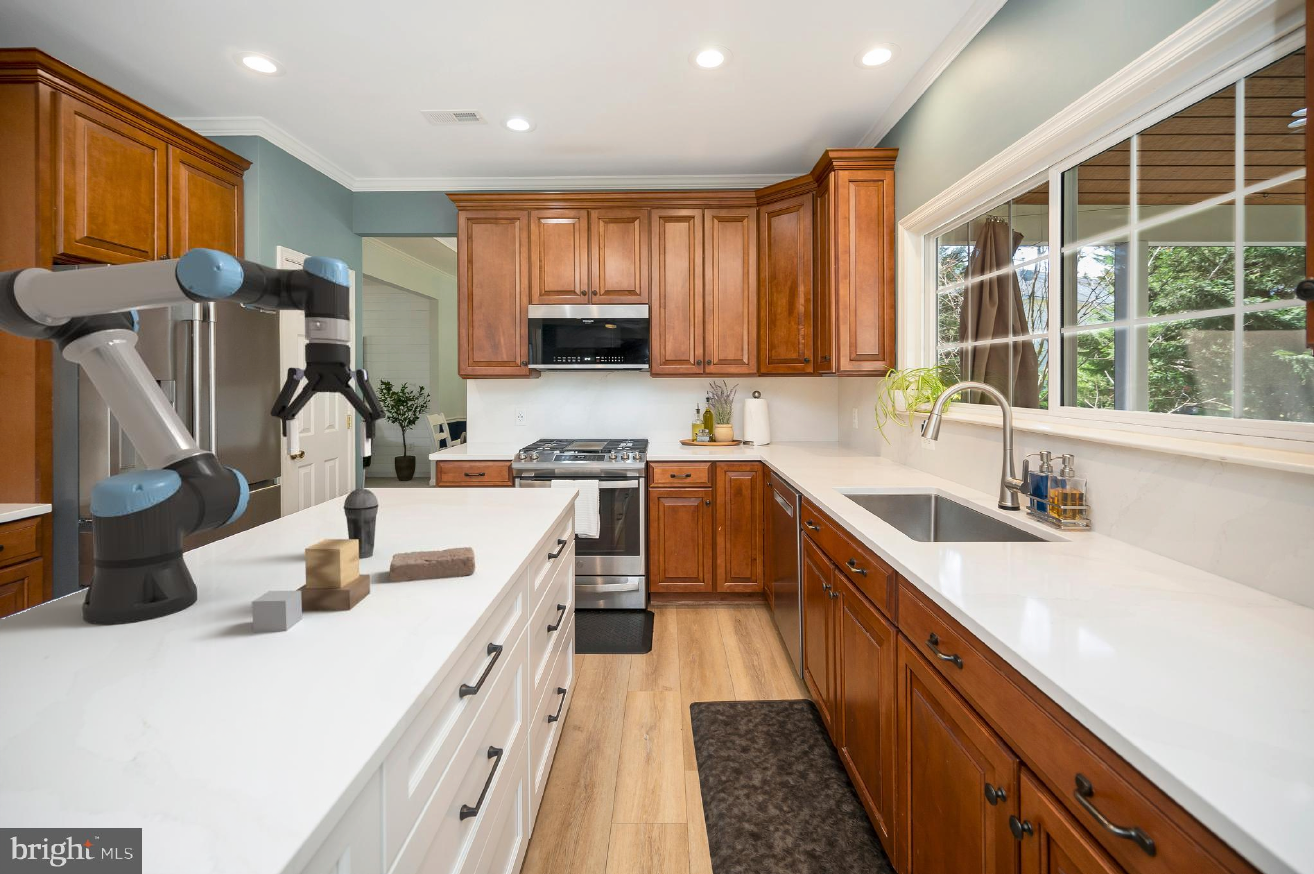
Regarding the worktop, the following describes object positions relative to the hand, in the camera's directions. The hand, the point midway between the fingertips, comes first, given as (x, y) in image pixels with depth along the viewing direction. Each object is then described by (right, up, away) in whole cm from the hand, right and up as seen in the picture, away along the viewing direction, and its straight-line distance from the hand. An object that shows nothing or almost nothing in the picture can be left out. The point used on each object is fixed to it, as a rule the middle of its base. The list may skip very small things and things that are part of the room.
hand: (329, 455), depth 115 cm
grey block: (+1, -27, -17) cm, 32 cm away
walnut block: (+4, -27, -6) cm, 28 cm away
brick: (+15, -26, +12) cm, 32 cm away
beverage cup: (-6, -24, +25) cm, 35 cm away
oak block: (+4, -23, -6) cm, 24 cm away
